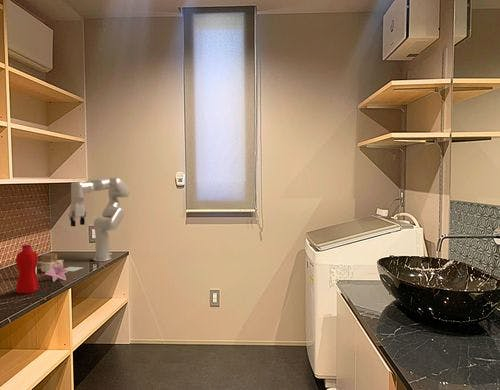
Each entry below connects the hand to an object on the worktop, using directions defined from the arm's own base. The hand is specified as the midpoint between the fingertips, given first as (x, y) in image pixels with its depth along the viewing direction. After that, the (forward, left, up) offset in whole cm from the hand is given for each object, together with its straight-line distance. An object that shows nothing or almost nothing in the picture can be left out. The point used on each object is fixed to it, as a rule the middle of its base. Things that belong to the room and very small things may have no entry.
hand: (77, 225), depth 271 cm
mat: (+11, +3, -28) cm, 31 cm away
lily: (+34, +11, -29) cm, 46 cm away
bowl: (+18, -8, -28) cm, 34 cm away
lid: (+17, -8, -22) cm, 30 cm away
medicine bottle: (+33, -11, -28) cm, 45 cm away
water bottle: (+59, +13, -28) cm, 67 cm away
